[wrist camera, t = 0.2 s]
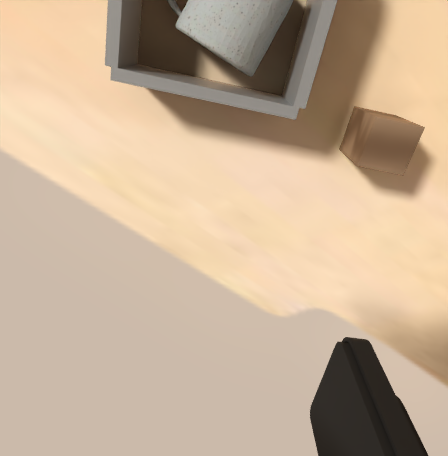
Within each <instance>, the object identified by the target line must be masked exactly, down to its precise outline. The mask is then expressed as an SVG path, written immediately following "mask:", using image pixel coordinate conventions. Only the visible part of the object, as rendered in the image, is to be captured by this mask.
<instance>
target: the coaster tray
mask: <svg viewBox="0 0 448 456" xmlns="http://www.w3.org/2000/svg"><path fill="white" fill-rule="evenodd" d="M142 3H143V0H108V13H107V34H106V55H105V65H106V66H110V67H111V80H113V81H117V82H122V83H126V84H131V85H136V86H140V87H145V88H150V89H154V90H159V91H164V92H168V93H173V94H178V95H182V96H187V97H192V98H196V99H201V100H206V101H210V102H215V103H220V104H224V105H229V106H233V107H238V108H243V109H247V110H252V111H257V112H261V113H266V114H271V115H275V116H280V117H285V118H289V119H294V120H296V118H297V114H298V111H299V108H303V109H305V108H306V105H307V101H308V98H309V94H310V91H311V88H312V84H313V81H314V77H315V74H316V71H317V67H318V64H319V61H320V57H321V54H322V50H323V47H324V44H325V40H326V37H327V33H328V30H329V27H330V23H331V20H332V17H333V13H334V10H335V6H336V3H337V0H307V2H306V6H305V10H304V14H303V18H302V22H301V25H300V29H299V33H298V37H297V41H296V44H295V48H294V52H293V56H292V60H291V63H290V67H289V71H288V75H287V79H286V82H285V86H284V90H283V94H282V96H280V95H276V94H271V93H267V92H262V91H258V90H253V89H249V88H244V87H240V86H235V85H230V84H226V83H221V82H217V81H212V80H208V79H203V78H199V77H194V76H190V75H185V74H181V73H176V72H171V71H167V70H162V69H158V68H153V67H149V66H144V65H140V64H137V61H138V49H139V38H140V26H141V14H142Z"/></svg>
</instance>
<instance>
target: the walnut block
mask: <svg viewBox="0 0 448 456" xmlns="http://www.w3.org/2000/svg"><path fill="white" fill-rule="evenodd" d="M424 128H425V127H422V126H420V125H418V124H415V123H413V122H410V121H408V120H406V119H403V118H401V117H398V116H396V115H391V114H387V113H382V112H378V111H373V110H369V109H364V108H360V107H354V109H353V112H352V115H351V118H350V121H349V124H348V126H347V129H346V132H345V135H344V138H343V140H342V143H341V146H340V149H339V150H341V151H342V152H343V153H344V154H345V155H346V156H347V157H348V158H349V159H350V160H351V161H352V162H354V163H355V164H356V165H357V166H359V167H364V168H369V169H374V170H379V171H383V172H388V173H393V174H398V175H404V173H405V170H406V168H407V166H408V164H409V162H410V159H411V157H412V155H413V153H414V150H415V148H416V146H417V144H418V142H419V139H420V137H421V135H422V133H423V131H424Z"/></svg>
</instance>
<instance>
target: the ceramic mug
mask: <svg viewBox="0 0 448 456" xmlns="http://www.w3.org/2000/svg"><path fill="white" fill-rule="evenodd" d="M167 1H168V3H169V5H170V7H171V8H172V10H173V11H174V12H175V13H176V14H177V15H178V16H179V18H178V20H177V23H176V28H177V29H178V30H180V31H181V32H183V33H184V34H186V35H187V36H189V37H190V38H191V39H193V40H194V41H196V42H197V43H199V44H200V45H202V46H204V47H205V48H207V49H208V50H209V51H211V52H212V53H214V54H215V55H217V56H218V57H220V58H221V59H223V60H224V61H226V62H227V63H229V64H231V65H232V66H234V67H235V68H237V69H238V70H240V71H241V72H243V73H245V74H246V75H248V76H253V75H254V73H255V71H256V69H257V68H258V66H259V64H260V62H261V60H262V58H263V57H264V55H265V53H266V51H267V49H268V48H269V46H270V44H271V42H272V40H273V38H274V36H275V34H276V32H277V31H278V29H279V27H280V25H281V23H282V22H283V20H284V18H285V17H286V15H287V13H288V11H289V9H290V7H291V5H292V2H293V0H188V2H187V4H186V6H185V8H184V9H183V11H181V10H180V8H179V7H178V5H177V3H176V1H175V0H167Z"/></svg>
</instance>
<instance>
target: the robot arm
mask: <svg viewBox="0 0 448 456" xmlns="http://www.w3.org/2000/svg"><path fill="white" fill-rule="evenodd" d="M310 419H311V424H312V429H313V433H314V437H315V442H316V446H317V451H318V456H428V454H427V452H426V450H425V448H424V446H423V444H422V442H421V440H420V437H419V435H418V434H417V431H416V430H415V428H414V425H413V423H412V421H411V419H410V417H409V415H408V413H407V411H406V409H405V407H404V405H403V403H402V402H401V400H400V399H399V398H398V397H397V396H396V395H395V393H394V391H393V389H392V387H391V385H390V383H389V381H388V379H387V377H386V374H385V372H384V370H383V368H382V366H381V364H380V362H379V360H378V358H377V356H376V354H375V352H374V350H373V347H372V345H371V344H370V342H369V341H368V340H365V339H357V338H349V337H345V338H344V339H343V341H342V342H337V344H336V346H335V348H334V350H333V353H332V355H331V358H330V360H329V363H328V365H327V368H326V370H325V373H324V375H323V378H322V380H321V383H320V385H319V388H318V390H317V392H316V395H315V397H314V400H313V402H312V405H311V410H310Z"/></svg>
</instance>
